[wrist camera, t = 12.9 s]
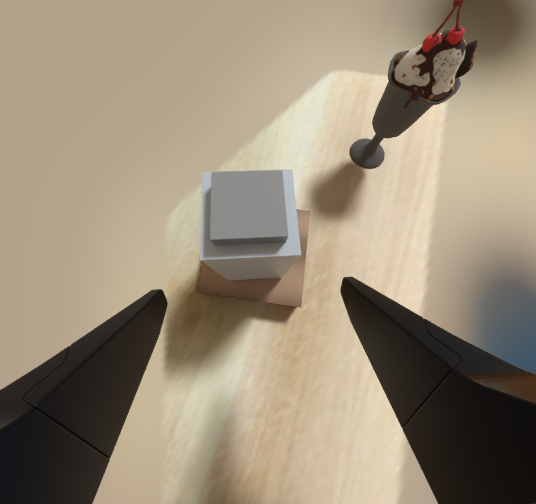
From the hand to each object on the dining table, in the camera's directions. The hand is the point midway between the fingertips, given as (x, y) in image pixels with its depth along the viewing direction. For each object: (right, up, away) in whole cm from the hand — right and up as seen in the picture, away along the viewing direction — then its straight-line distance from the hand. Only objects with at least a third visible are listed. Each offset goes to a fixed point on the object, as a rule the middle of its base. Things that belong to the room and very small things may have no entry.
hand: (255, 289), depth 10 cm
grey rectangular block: (-1, +2, +11) cm, 12 cm away
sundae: (+15, +16, +18) cm, 28 cm away
